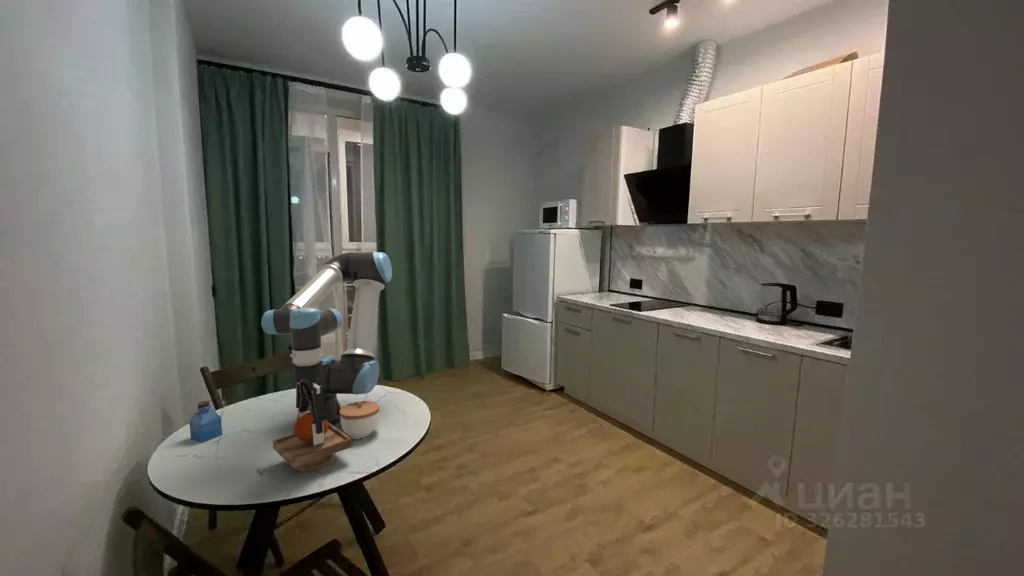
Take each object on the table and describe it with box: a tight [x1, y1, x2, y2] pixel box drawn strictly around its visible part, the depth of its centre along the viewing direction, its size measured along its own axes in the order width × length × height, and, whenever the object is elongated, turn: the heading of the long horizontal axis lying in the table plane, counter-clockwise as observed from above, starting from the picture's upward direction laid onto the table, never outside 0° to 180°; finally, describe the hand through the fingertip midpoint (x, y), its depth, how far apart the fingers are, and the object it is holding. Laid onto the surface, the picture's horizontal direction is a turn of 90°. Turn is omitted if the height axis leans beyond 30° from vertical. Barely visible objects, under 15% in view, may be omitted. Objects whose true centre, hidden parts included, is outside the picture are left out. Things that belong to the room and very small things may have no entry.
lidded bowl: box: [339, 400, 381, 440], centre depth 136 cm, size 13×13×11 cm
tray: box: [272, 423, 353, 473], centre depth 119 cm, size 16×16×7 cm
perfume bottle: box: [188, 400, 223, 444], centre depth 135 cm, size 6×6×12 cm
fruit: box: [293, 412, 328, 442], centre depth 118 cm, size 9×9×8 cm
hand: (312, 438), depth 118 cm, fingers closed on fruit, 9 cm apart
